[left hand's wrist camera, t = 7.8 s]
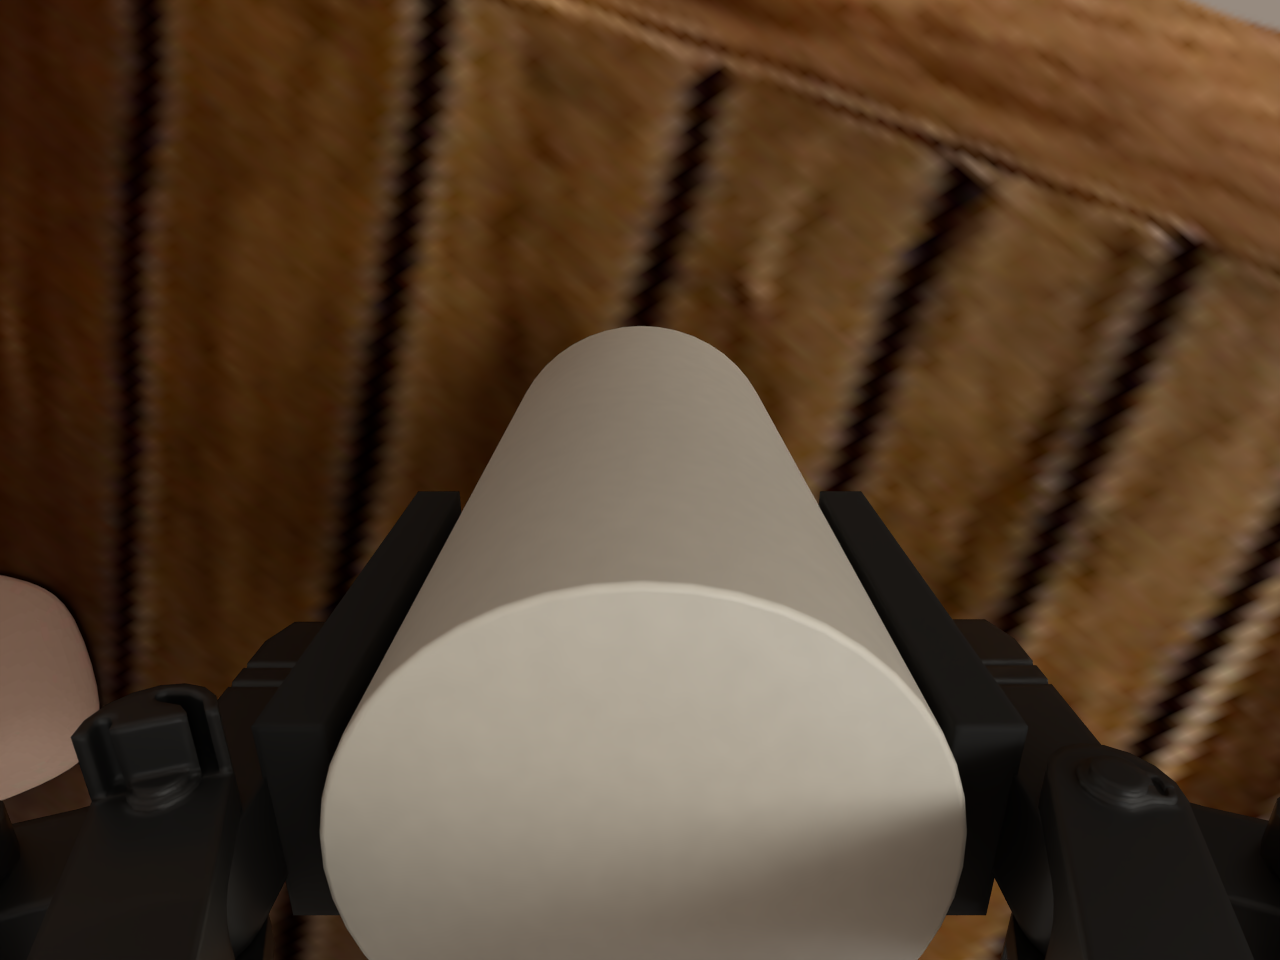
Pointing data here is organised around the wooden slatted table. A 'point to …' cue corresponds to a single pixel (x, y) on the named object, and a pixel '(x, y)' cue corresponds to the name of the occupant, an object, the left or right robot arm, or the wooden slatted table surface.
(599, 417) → the cylinder
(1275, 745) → the wooden slatted table surface
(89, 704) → the anatomical model
